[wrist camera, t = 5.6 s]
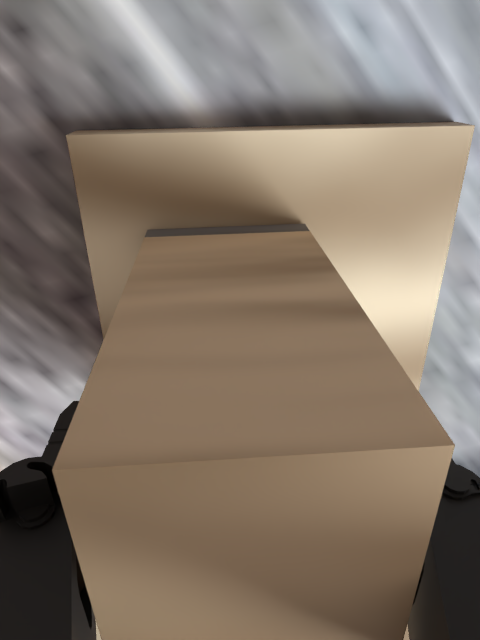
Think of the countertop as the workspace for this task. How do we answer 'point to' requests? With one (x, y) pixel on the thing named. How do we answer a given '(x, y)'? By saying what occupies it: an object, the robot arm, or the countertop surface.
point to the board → (287, 204)
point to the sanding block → (248, 450)
